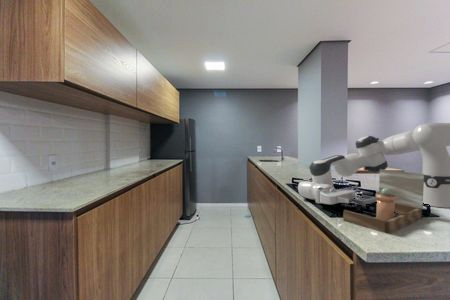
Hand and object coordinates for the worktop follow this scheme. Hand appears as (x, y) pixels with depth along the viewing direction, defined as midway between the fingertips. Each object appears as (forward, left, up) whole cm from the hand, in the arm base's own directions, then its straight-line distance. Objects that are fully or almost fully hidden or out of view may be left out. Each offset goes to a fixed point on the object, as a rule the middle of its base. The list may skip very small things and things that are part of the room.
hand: (355, 199), depth 110 cm
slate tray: (-18, -9, -6) cm, 21 cm away
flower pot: (0, +12, -6) cm, 13 cm away
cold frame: (0, +12, -6) cm, 13 cm away
